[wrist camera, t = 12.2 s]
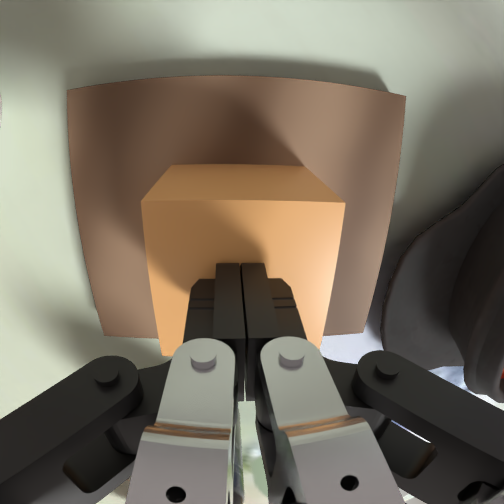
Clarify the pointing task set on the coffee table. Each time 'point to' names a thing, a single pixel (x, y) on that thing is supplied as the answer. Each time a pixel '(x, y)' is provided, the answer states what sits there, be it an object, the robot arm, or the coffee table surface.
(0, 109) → the coffee cup
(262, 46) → the coffee table surface
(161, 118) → the post stand
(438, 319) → the casserole
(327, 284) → the peach cube
